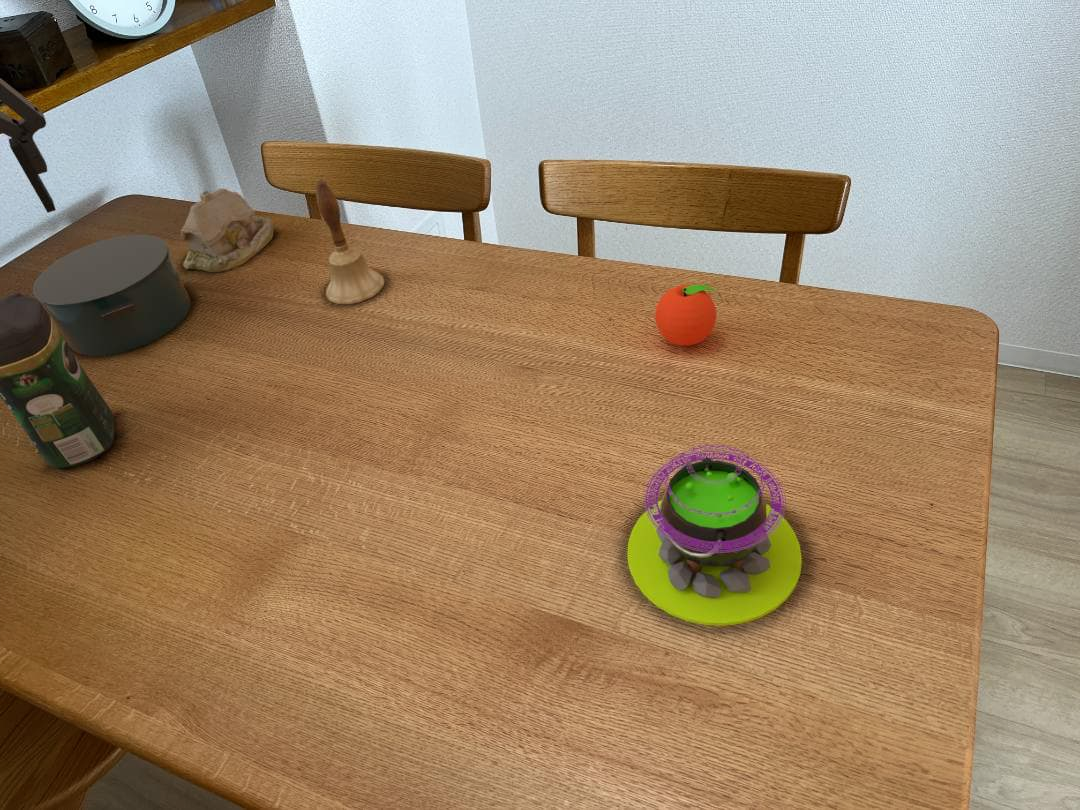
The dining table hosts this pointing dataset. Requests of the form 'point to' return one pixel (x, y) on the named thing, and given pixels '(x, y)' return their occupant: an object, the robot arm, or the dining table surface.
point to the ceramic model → (223, 232)
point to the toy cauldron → (714, 542)
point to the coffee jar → (49, 387)
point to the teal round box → (114, 294)
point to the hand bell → (345, 257)
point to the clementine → (686, 314)
